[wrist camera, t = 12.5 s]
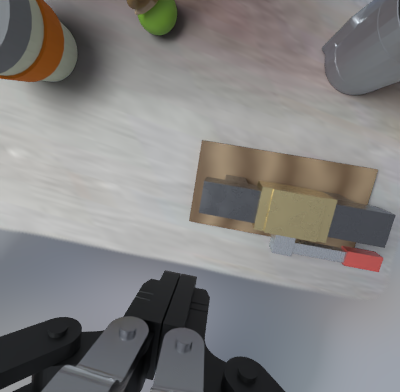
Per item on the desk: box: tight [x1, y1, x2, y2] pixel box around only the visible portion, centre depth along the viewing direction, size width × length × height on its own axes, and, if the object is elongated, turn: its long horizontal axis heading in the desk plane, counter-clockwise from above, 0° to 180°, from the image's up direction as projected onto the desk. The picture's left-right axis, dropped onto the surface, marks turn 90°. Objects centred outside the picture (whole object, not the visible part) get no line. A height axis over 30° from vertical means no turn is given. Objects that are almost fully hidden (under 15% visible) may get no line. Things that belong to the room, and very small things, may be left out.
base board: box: [189, 140, 378, 248], centre depth 42 cm, size 26×13×2 cm, turn 81°
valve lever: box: [269, 234, 383, 272], centre depth 34 cm, size 2×3×13 cm
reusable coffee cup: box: [0, 0, 77, 82], centre depth 35 cm, size 13×13×15 cm
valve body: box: [199, 175, 395, 248], centre depth 36 cm, size 22×5×11 cm, turn 81°
